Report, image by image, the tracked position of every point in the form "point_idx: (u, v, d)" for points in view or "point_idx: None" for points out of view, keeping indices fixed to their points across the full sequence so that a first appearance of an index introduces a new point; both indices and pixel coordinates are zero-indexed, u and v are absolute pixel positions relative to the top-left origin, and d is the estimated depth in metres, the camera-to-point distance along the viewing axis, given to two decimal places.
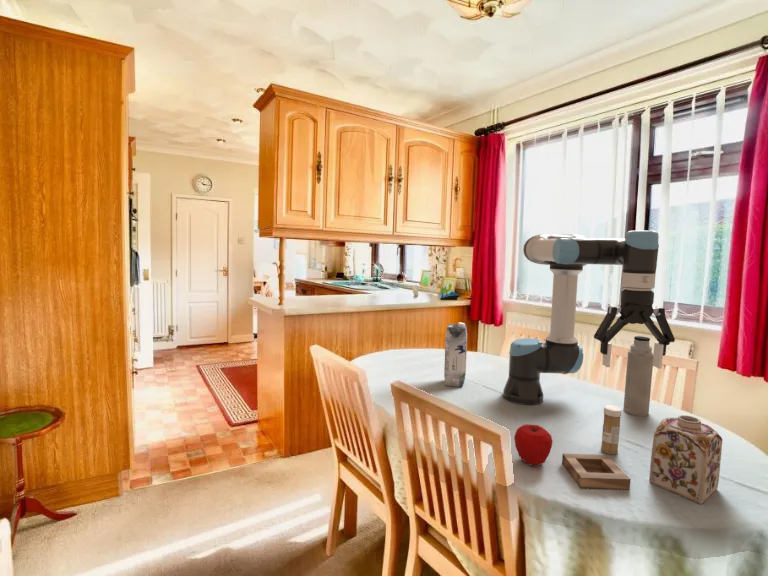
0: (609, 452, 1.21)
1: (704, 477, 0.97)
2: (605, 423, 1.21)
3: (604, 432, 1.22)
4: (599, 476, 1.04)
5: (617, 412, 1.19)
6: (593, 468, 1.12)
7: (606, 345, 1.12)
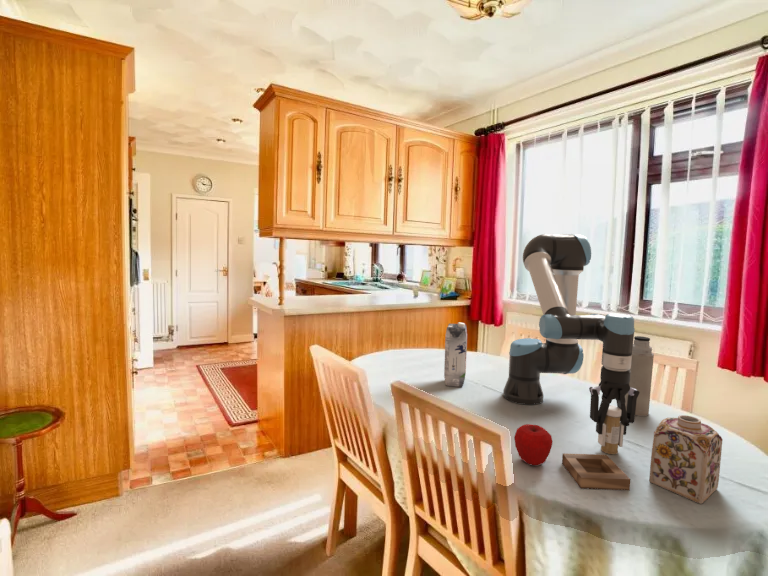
0: (609, 452, 1.21)
1: (704, 477, 0.97)
2: (605, 423, 1.21)
3: None
4: (599, 476, 1.04)
5: (617, 412, 1.19)
6: (593, 468, 1.12)
7: (601, 426, 1.21)
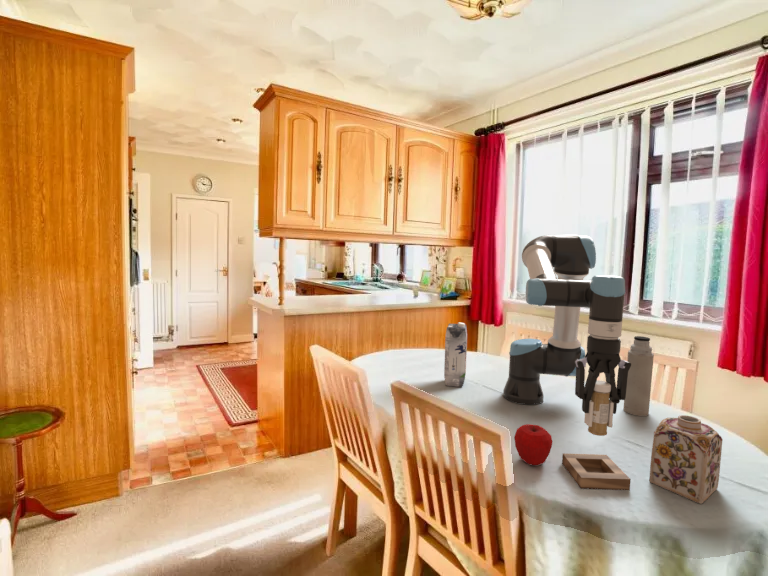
0: (597, 433, 1.06)
1: (704, 477, 0.97)
2: (592, 400, 1.06)
3: None
4: (599, 476, 1.04)
5: (606, 387, 1.04)
6: (593, 468, 1.12)
7: (588, 403, 1.06)
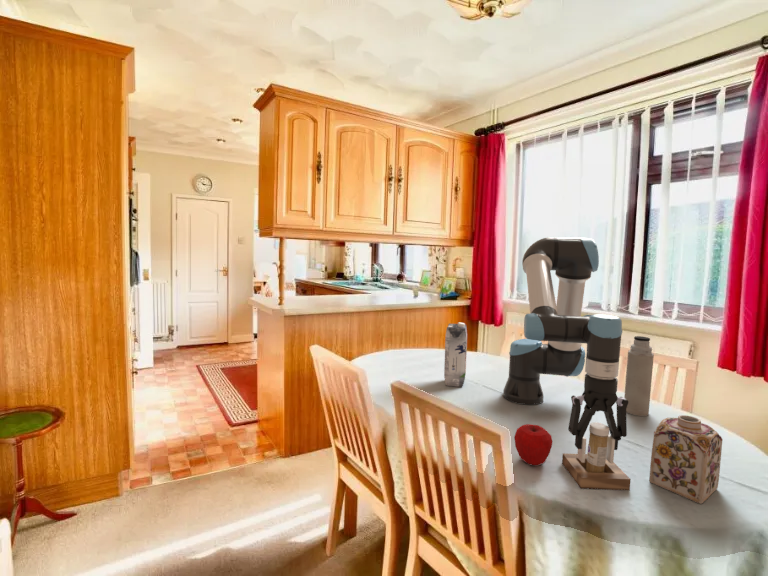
0: None
1: (704, 477, 0.97)
2: (591, 442, 1.08)
3: (589, 453, 1.08)
4: (599, 476, 1.04)
5: (604, 431, 1.06)
6: None
7: (581, 440, 1.08)
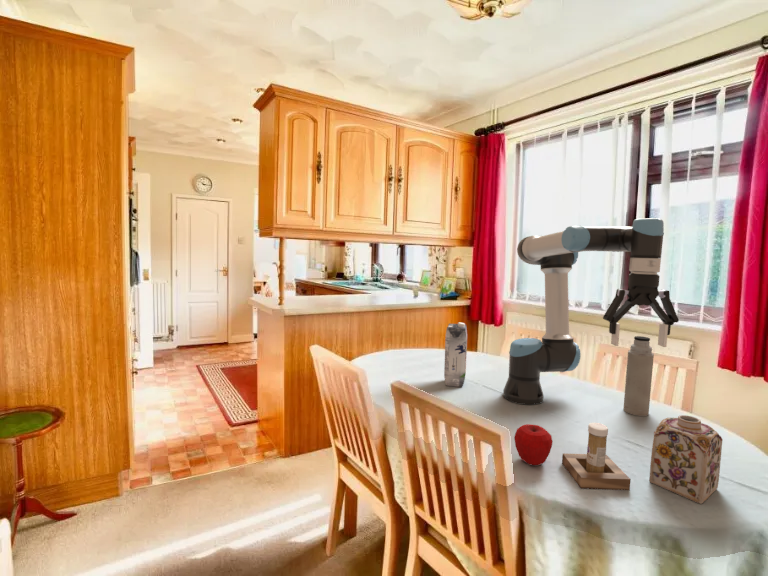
0: None
1: (704, 477, 0.97)
2: (590, 443, 1.08)
3: (588, 453, 1.08)
4: (599, 476, 1.04)
5: (603, 431, 1.06)
6: None
7: (615, 325, 1.20)
